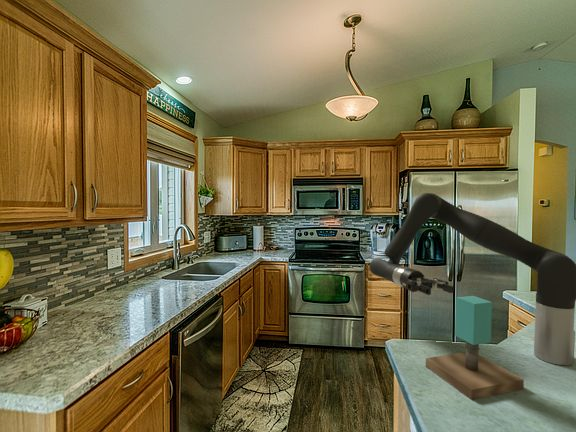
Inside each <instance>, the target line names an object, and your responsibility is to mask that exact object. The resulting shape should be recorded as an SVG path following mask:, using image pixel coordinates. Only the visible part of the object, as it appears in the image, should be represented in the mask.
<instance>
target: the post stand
mask: <svg viewBox="0 0 576 432" xmlns="http://www.w3.org/2000/svg"><path fill="white" fill-rule="evenodd" d="M479 351H480V344H476V345H472V344H470V343H468V342H466V341H465V351H464V352H457V353H451V354H445V355H444V354H443V355H438V356H432V357H426V358H425V368H427V369H428V370H429V371H431V372H432V373H434V375H435V374H436V375H437V376H438V377H440V378H441V379H442V380H443V381H444V382H446V383H447V384H449V385H450V386H452V387H453V388H455V389H456V390H457V391H458V392H460V393H461V394H463V395H464V396H465V395H466V396H465V397H467V398H468V397H469V398H468V399H469V400H477V399H480V398H487V397H491V396H496V395H500V394H505V393H506V394H507V393H510V392H514V391H519V390H524V381H525V379H524V378H521V377H520V376H518V375H516V374H514V373H512V372H511V371H509V370H507V369H506V368H504V367H502V366H500V365H498V364H496V363H494V362H492V361H491V360H489V359H487V358H485V357H483V356H482V355H480V354H479ZM476 398H477V399H476Z"/></svg>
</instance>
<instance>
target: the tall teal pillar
mask: <svg viewBox="0 0 576 432" xmlns="http://www.w3.org/2000/svg"><path fill="white" fill-rule="evenodd" d="M492 312H493V302H492V301H489V300H487V299H484V298H481V297H479V296H476V295H466V296H457V297H455V324H454V326H455V327H454V330H455V331H454V337H457V338H459V339H461V340H463V341H465V343H466V342H468V343H470V344H472V345H476V344H479V345H482V344H489V343H492V323H493V322H492V317H493V316H492V314H493V313H492Z"/></svg>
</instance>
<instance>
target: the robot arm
mask: <svg viewBox="0 0 576 432" xmlns="http://www.w3.org/2000/svg"><path fill="white" fill-rule="evenodd" d="M431 218H432V219H434V220H437V221H438V222H441V223H444V224H445V225H447V226H450V227H451V228H452V229H453V230H455V231H456V232H458V233H459V234H460V235H462V236H463V237H465V238H466V239H467V240H469V241H470V242H473V243H475V244H476V245H479V246H480V247H482V248H483V249H486V250H489V251H491V252H494V253H497V254H499V255H502V256H506V257H508V258H512V259H514V260H515V261H516V260H517V261H518V262H520V263H522V264H524V265H526V266H527V267H529V268H531V269H532V270H534V272H537V279H536V280H537V283H536V285H537V286H536V292H535V310H534V311H535V312H534V313H535V314H534V315H535V316H534V317H535V318H534V337H533V339H534V342H533V355H534V356H535V357H536V358H538V359H540V360H542V361H544V362H546V363H550V364H554V365H558V366H571V365H572V364H573V363H574V362H573V361H575V348H576V347H575V342H576V331H575V311H576V308H575V307H576V263H575V261H574V260H573V259H572V258H570V257H569V256H568V255H567V254H564V253H561V252H558V251H555V250H552V249H549V248H546V247H544V246H542V245H539V244H537V243H535V242H531V241H530V240H528V239H525V238H524V237H523V236H520V235H519V234H518V233H516V232H514V231H512V230H511V229H509V228H507V227H505V226H504V225H501V224H499V223H498V222H495V221H493V220H491V219H489V218H486V217H484V216H482V215H479V214H476V213H473V212H470V211H468V210H465V209H462V208H459V207H457V206H456V205H453V204H452V203H450V202H449V201H447V200H446V199H443V197H440V196H439V195H438V194H435V193H432V192H423V193H421V194H420V195H419V194H418V196H416V198H415V200H414V202H413V204H412V206H411V207H410V210H409V212H408V215H407V216H406V218H405V220H404V222H403V224H402V225H401V227H400V228H399V229H398V231H397V232H396V233H395V235H394V236H393V238H392V239H391V240H390V242H389V243H388V245H387V246H386V248H385V250H384V255H385V256H386V257H387V258H389V259H388V261H387V260H385V259H382V258H378V257H377V258H374V259H372V260H370V263H369V270H370V272H371V274H373V275H374V276H377V277H380V278H382V279H385V280H388V281H390V282H392V283H394V284H396V285H398V286H399V287H401V288H403V289H406V290H407V291H409V292H412V293H414V292H415V293H416V292H417V293H422V294H425V295H428V296H430V295H431V294H432V291H437V290H440V291H443V292H446V293H448V294H454V291H455V290H454V288H455V287H454V286H453V285H450V284H449V281H446V280H443V279H441V278H440V279H439V278H437V277H433V278H429V277H426V276H425V275H424V273H423V272H422V271H420V270H417V269H414V268H411V267H407V266H402V265H400V262H401V260H402V258H403V257H404V255H405V254H406V253H407V251H408V249H409V248H410V247H411V245H412V243H413V241H414V239H416V235H417V234H418V233H419V231H420V229H422V227H423V225H425V224H427V222H428V221H429V220H430V219H431Z"/></svg>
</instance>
